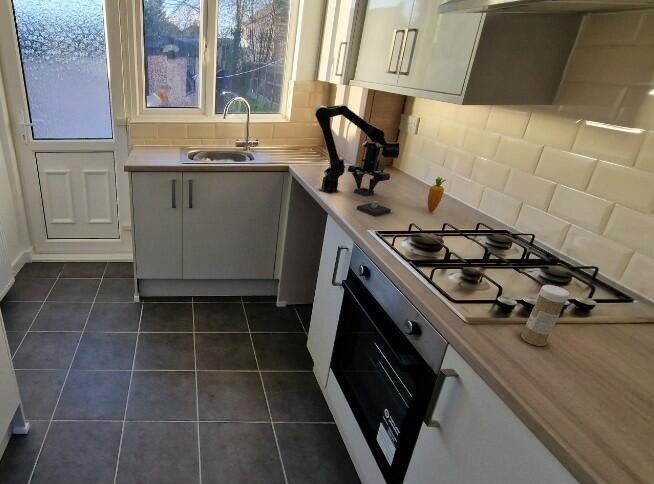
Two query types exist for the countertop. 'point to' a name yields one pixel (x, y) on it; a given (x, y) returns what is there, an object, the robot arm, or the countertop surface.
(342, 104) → the robot arm
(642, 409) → the countertop surface
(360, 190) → the small pad
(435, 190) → the carrot
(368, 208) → the base pad
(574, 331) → the countertop surface
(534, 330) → the sprinkles bottle
